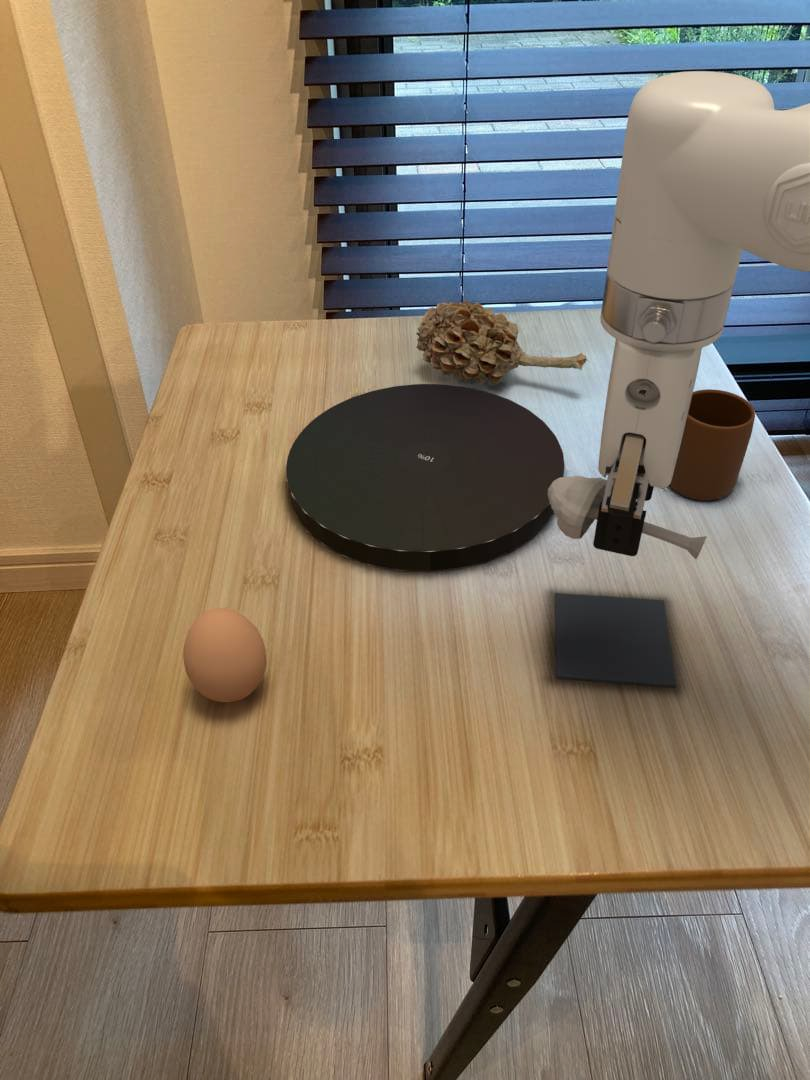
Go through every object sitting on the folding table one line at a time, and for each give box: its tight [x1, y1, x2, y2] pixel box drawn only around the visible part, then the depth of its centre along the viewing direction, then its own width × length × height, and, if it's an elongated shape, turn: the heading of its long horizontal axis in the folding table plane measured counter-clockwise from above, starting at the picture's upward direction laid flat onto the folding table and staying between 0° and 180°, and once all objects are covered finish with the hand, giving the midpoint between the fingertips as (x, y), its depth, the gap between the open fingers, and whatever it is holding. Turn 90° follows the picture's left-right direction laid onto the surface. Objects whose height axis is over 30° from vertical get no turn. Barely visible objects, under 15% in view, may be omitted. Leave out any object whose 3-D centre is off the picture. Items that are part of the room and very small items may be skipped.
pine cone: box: [415, 300, 591, 386], centre depth 104 cm, size 22×10×10 cm, turn 74°
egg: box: [182, 607, 267, 703], centre depth 69 cm, size 7×7×9 cm
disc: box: [285, 383, 566, 572], centre depth 92 cm, size 30×30×3 cm
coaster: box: [554, 592, 677, 688], centre depth 75 cm, size 10×10×1 cm
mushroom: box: [548, 475, 707, 560], centre depth 63 cm, size 7×5×12 cm
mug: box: [668, 388, 756, 501], centre depth 90 cm, size 12×8×9 cm, turn 63°
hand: (623, 520), depth 64 cm, fingers closed on mushroom, 5 cm apart
